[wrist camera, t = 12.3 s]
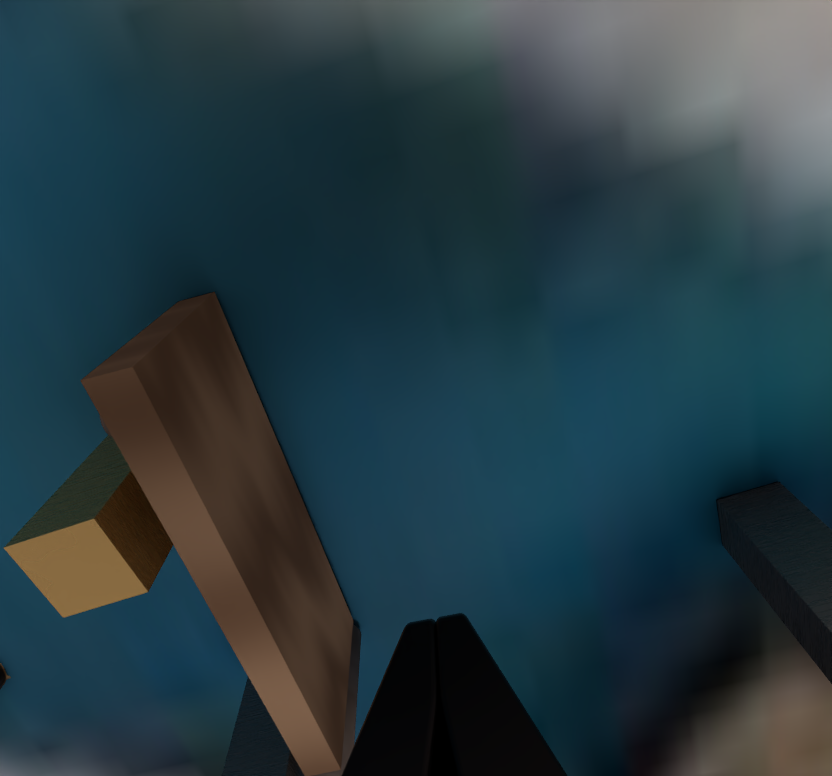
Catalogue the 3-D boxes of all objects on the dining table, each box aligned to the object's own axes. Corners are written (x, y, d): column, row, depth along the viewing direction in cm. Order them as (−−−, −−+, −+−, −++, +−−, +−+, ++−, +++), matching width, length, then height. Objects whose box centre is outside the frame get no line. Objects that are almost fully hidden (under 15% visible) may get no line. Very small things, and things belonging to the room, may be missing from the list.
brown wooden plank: (365, 642, 24) (356, 794, 19) (313, 654, 24) (290, 806, 19) (217, 291, 17) (136, 365, 12) (148, 309, 18) (37, 391, 12)
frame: (284, 667, 25) (247, 845, 19) (120, 416, 19) (-8, 551, 13) (782, 528, 23) (928, 679, 16) (757, 198, 17) (963, 238, 11)
